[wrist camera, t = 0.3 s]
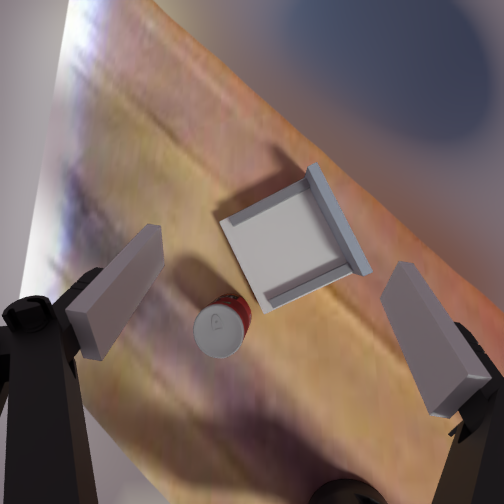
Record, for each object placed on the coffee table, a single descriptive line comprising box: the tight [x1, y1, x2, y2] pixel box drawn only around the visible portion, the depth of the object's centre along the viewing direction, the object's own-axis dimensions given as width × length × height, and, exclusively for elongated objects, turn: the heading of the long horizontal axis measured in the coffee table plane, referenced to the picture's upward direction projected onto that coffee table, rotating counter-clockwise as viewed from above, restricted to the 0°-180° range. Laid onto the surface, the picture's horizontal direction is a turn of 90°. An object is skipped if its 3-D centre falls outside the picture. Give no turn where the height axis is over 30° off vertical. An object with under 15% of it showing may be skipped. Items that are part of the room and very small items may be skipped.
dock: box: [219, 162, 373, 314], centre depth 44 cm, size 18×18×9 cm
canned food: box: [193, 294, 251, 358], centre depth 45 cm, size 8×8×11 cm
